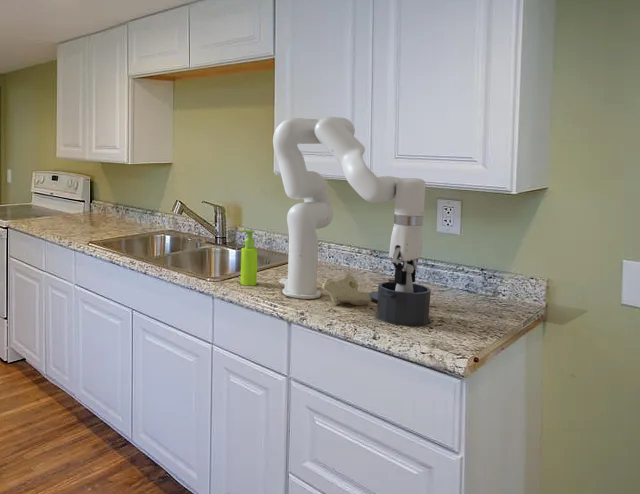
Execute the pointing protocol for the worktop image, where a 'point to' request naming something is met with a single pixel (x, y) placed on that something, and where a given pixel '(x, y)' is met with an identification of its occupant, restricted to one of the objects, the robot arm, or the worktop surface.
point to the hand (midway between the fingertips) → (404, 282)
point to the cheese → (345, 291)
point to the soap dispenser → (249, 261)
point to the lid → (375, 294)
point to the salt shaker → (409, 285)
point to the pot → (403, 305)
